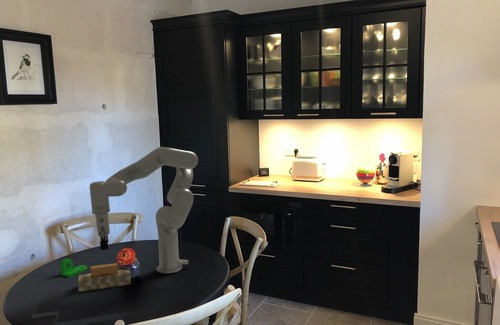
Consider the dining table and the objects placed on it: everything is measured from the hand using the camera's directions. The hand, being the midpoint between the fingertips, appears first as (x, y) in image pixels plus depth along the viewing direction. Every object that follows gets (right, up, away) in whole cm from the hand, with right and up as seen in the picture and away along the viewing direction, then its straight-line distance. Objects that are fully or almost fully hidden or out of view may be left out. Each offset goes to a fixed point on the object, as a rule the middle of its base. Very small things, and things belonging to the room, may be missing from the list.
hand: (104, 246), depth 187 cm
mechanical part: (-20, -17, +18) cm, 32 cm away
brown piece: (0, -17, +1) cm, 17 cm away
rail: (0, -18, +1) cm, 18 cm away
